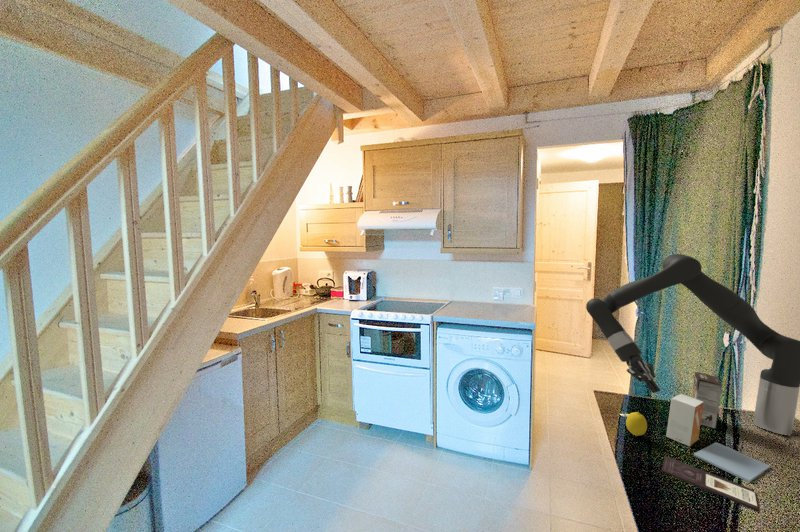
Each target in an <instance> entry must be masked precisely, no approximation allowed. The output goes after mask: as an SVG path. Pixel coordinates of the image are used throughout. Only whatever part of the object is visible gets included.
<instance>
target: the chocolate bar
mask: <svg viewBox="0 0 800 532" xmlns="http://www.w3.org/2000/svg"><path fill="white" fill-rule="evenodd" d="M662 462H663V463H662V466H661V471H662V472H661V473H663V472H664V473H663V474H665V473H666V475H668V474H669V475H668V476H670V475H671V477H672V476H673V478H675V479H678V480H680V481H682V482H685V483H688V484H690V485H692V486H693V487H694V486H695V487H697V488H700V489H702V490H703V491H707V492H709V493H712V494H714V495H716V494H717V496H719V495H721V496H724V497H726V498H728V499H727V500H729V499H730V500H729V501H731V500H732V501H731V502H733V501H734V502H733V503H736V504H738V503H739V504H738V505H741V506H743V507H746V508H749V509H750V508H751V510H753V509H754V510H753V511H756V512H758V510H759V509H758V504H757V498H756V492H755V490H754V489H752V488H751V487H747V486H745V485H742V484H739V483H737V482H735V481H732V480H729V479H726V478H724V477H721V476H719V475H716V474H714V473H710V472H708V471H705V470H704V469H701V468H698V467H695V466H694V465H690V464H687V463H686V462H683V461H680V460H677V459H675V458H673V457H669V456H667V455H664V457H663V461H662ZM721 496H720V497H721ZM724 497H723V498H724ZM726 498H725V499H726Z"/></svg>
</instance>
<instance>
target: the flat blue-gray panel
mask: <svg viewBox="0 0 800 532" xmlns="http://www.w3.org/2000/svg"><path fill="white" fill-rule="evenodd" d="M693 456H694V457H695V458H698V459H700V460H702V461H704V462H706V463H709V464H711V465H712V466H715V467H716V468H718V469H721V470H723V471H725V472H727V473H729V474H731V475H732V476H735V477H737V478H739V479H741V480H743V481H745V482H748V483H751V482H752V481H753V480H755V479H757V478H758V477H760V476H761V475H762V474H763V473H765V472H766V471H768V470H769V469H770V468H771V465H770V464H767V463H765V462H762V461H760V460H759V459H756V458H753V457H752V456H748V455H747V454H744V453H742V452H739V451H737V450H736V449H733V448H731V447H729V446H726V445H724V444H722V443H719V442H717V441H715V442H713V443H712V444H711V443H710V445H708V446H706V447H704V448H702V449H700V450H698V451H695V452H694V453H693ZM768 468H769V469H768ZM767 469H768V470H767ZM765 470H766V471H765ZM764 471H765V472H764Z"/></svg>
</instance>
